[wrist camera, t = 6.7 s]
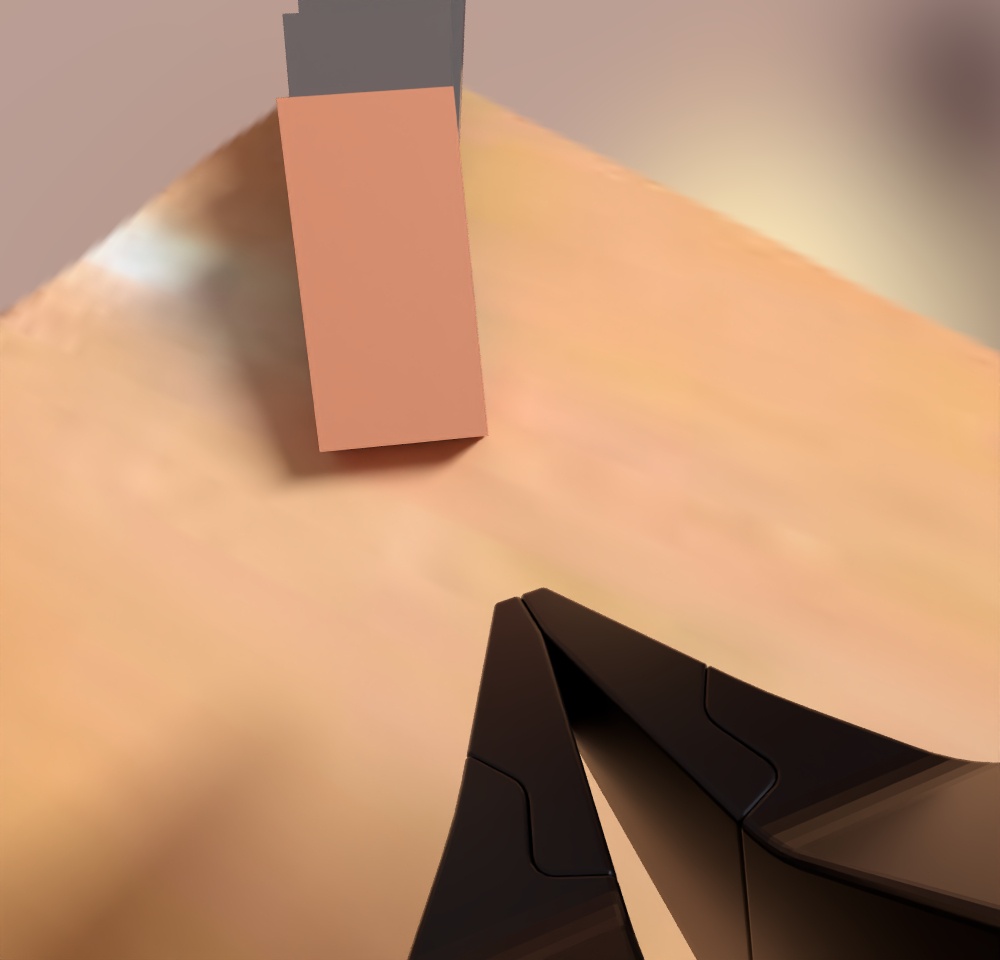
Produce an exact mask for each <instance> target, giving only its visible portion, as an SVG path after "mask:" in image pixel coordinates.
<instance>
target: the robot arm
mask: <svg viewBox="0 0 1000 960" xmlns="http://www.w3.org/2000/svg"><path fill="white" fill-rule="evenodd" d="M579 752H580V753H579ZM580 754H581V756H582V758H583V759H584V761H585V763H586V765H587V766H588V768H589V770H590V772H591V773H592V775H593V777H594V779H595V781H596V782H597V784H598V786H599V788H600V789H601V791H602V793H603V795H604V796H605V798H606V800H607V802H608V804H609V805H610V807H611V809H612V811H613V812H614V814H615V816H616V818H617V819H618V821H619V823H620V825H621V826H622V828H623V830H624V832H625V834H626V835H627V837H628V839H629V841H630V842H631V844H632V846H633V848H634V849H635V851H636V853H637V855H638V857H639V858H640V860H641V862H642V864H643V865H644V867H645V869H646V871H647V872H648V874H649V876H650V878H651V880H652V881H653V883H654V885H655V887H656V888H657V890H658V892H659V894H660V895H661V897H662V899H663V901H664V903H665V904H666V906H667V908H668V910H669V911H670V913H671V915H672V917H673V918H674V920H675V922H676V924H677V926H678V927H679V929H680V931H681V933H682V934H683V936H684V938H685V940H686V941H687V943H688V945H689V947H690V948H691V950H692V952H693V954H694V956H695V957H696V959H697V960H1000V763H990V762H976V761H968V760H962V759H956V758H952V757H948V756H944V755H940V754H936V753H933V752H930V751H926V750H923V749H920V748H917V747H914V746H912V745H909V744H906V743H903V742H901V741H898V740H895V739H892V738H890V737H887V736H884V735H881V734H879V733H876V732H873V731H870V730H868V729H865V728H862V727H860V726H857V725H854V724H851V723H849V722H846V721H843V720H840V719H838V718H835V717H832V716H829V715H827V714H824V713H821V712H819V711H816V710H813V709H810V708H808V707H805V706H803V705H800V704H797V703H795V702H792V701H790V700H787V699H785V698H782V697H779V696H777V695H774V694H772V693H769V692H767V691H765V690H762V689H760V688H758V687H755V686H753V685H751V684H749V683H746V682H744V681H742V680H740V679H737V678H735V677H733V676H731V675H729V674H727V673H724V672H722V671H720V670H718V669H716V668H714V667H712V666H709V667H708V668H707V665H706V664H705V663H703V662H701V661H699V660H697V659H695V658H692V657H690V656H688V655H686V654H684V653H682V652H680V651H678V650H676V649H673V648H671V647H669V646H667V645H665V644H663V643H661V642H659V641H657V640H655V639H652V638H650V637H648V636H646V635H644V634H642V633H640V632H638V631H636V630H633V629H631V628H629V627H627V626H625V625H623V624H621V623H619V622H617V621H615V620H612V619H610V618H608V617H606V616H604V615H602V614H600V613H598V612H596V611H593V610H591V609H589V608H587V607H585V606H583V605H581V604H579V603H577V602H575V601H572V600H570V599H568V598H566V597H564V596H562V595H560V594H558V593H556V592H553V591H551V590H549V589H547V588H539V589H536V590H534V591H531V592H528V593H525V594H523V595H522V596H521V598H519V597H513V598H510V599H507V600H504V601H501V602H499V603H497V604H496V605H495V607H494V612H493V617H492V622H491V628H490V633H489V638H488V644H487V649H486V654H485V660H484V665H483V671H482V676H481V681H480V687H479V692H478V697H477V703H476V708H475V713H474V719H473V724H472V730H471V735H470V740H469V746H468V751H467V759H466V761H465V766H464V771H463V776H462V782H461V786H460V791H459V795H458V799H457V804H456V808H455V813H454V817H453V820H452V824H451V827H450V830H449V834H448V837H447V840H446V844H445V847H444V850H443V854H442V857H441V860H440V863H439V866H438V869H437V872H436V875H435V878H434V881H433V884H432V887H431V890H430V893H429V896H428V899H427V902H426V905H425V908H424V911H423V914H422V917H421V920H420V923H419V926H418V929H417V932H416V935H415V938H414V941H413V944H412V947H411V950H410V953H409V956H408V959H407V960H644V957H643V954H642V952H641V949H640V947H639V944H638V941H637V938H636V936H635V933H634V930H633V927H632V924H631V921H630V918H629V915H628V912H627V909H626V905H625V902H624V899H623V896H622V892H621V889H620V886H619V883H618V881H617V876H616V873H615V869H614V866H613V863H612V859H611V856H610V853H609V849H608V846H607V843H606V839H605V836H604V833H603V830H602V826H601V823H600V820H599V816H598V813H597V810H596V806H595V803H594V800H593V796H592V793H591V790H590V786H589V783H588V780H587V776H586V773H585V770H584V766H583V763H582V760H581V756H580Z"/></svg>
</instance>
